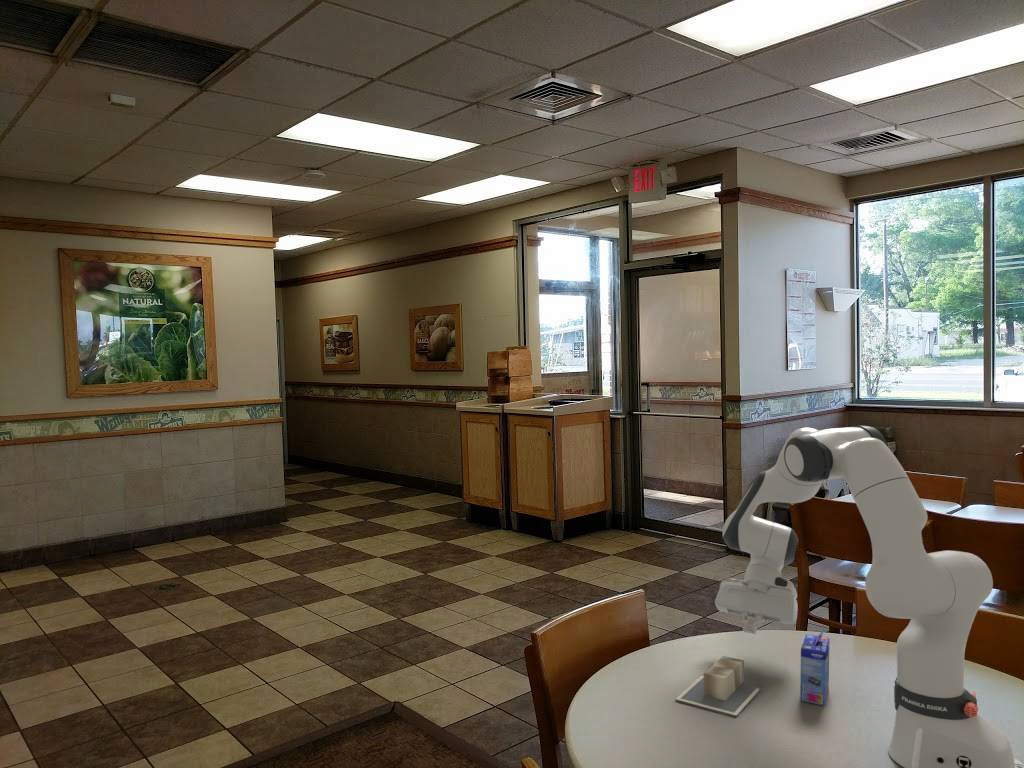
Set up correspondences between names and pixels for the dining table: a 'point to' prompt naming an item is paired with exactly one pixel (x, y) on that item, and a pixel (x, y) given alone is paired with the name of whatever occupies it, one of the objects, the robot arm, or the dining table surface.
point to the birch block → (723, 677)
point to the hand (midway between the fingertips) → (749, 632)
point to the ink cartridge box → (814, 669)
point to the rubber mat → (728, 707)
